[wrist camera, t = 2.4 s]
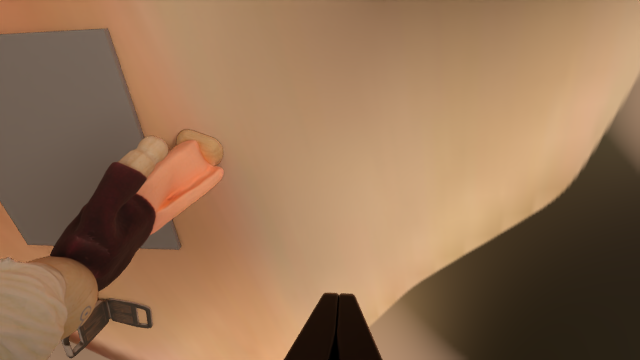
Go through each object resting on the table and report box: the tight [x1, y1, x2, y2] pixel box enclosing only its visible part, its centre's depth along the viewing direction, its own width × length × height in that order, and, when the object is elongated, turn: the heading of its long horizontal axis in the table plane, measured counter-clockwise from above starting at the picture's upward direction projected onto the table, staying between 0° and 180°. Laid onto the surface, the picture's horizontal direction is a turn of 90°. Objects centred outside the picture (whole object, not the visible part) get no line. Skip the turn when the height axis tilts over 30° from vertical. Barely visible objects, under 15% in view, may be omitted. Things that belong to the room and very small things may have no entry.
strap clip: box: [61, 298, 153, 358], centre depth 25 cm, size 8×3×4 cm, turn 79°
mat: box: [0, 29, 181, 250], centre depth 19 cm, size 12×14×1 cm
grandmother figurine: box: [0, 130, 223, 360], centre depth 13 cm, size 8×4×13 cm, turn 159°
